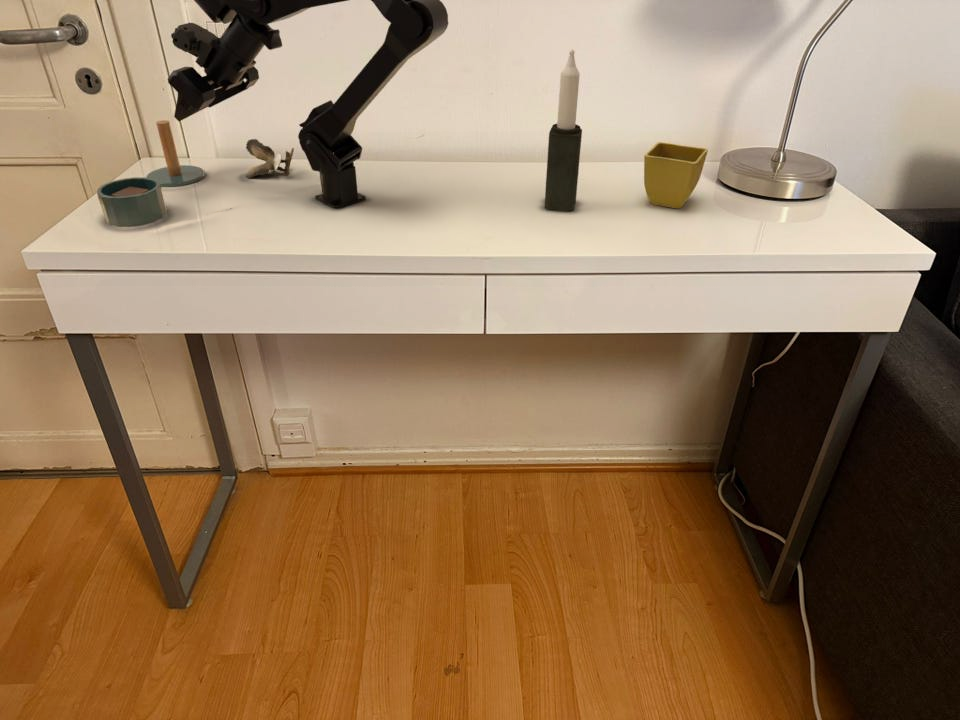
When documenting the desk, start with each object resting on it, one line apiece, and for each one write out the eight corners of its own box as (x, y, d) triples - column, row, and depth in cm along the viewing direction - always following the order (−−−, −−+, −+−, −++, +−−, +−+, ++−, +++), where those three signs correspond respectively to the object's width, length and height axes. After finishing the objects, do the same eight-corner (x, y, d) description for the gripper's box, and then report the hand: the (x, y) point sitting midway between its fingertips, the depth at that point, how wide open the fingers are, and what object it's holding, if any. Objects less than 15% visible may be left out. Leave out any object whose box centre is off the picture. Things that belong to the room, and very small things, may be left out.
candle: (573, 212, 117) (587, 53, 103) (543, 209, 118) (553, 51, 104) (576, 201, 121) (590, 47, 107) (547, 199, 122) (557, 45, 108)
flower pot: (636, 206, 120) (643, 154, 115) (650, 190, 126) (658, 140, 121) (687, 215, 117) (696, 162, 111) (699, 199, 123) (708, 148, 118)
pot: (177, 219, 113) (169, 187, 110) (120, 234, 108) (110, 202, 105) (153, 203, 119) (145, 173, 116) (98, 218, 113) (88, 186, 110)
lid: (215, 180, 128) (202, 122, 122) (161, 194, 122) (146, 133, 116) (190, 167, 134) (177, 111, 128) (138, 179, 128) (122, 121, 122)
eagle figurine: (295, 161, 134) (248, 153, 133) (293, 137, 128) (243, 127, 126) (287, 194, 131) (239, 185, 130) (284, 170, 124) (233, 161, 123)
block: (155, 213, 114) (149, 189, 112) (137, 221, 111) (130, 198, 109) (136, 209, 115) (129, 186, 113) (118, 218, 112) (110, 194, 110)
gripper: (230, -2, 117) (186, 64, 125) (163, 13, 102) (119, 87, 110) (280, 51, 120) (234, 112, 128) (222, 74, 105) (174, 141, 113)
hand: (192, 112), depth 120 cm, fingers open, 9 cm apart
